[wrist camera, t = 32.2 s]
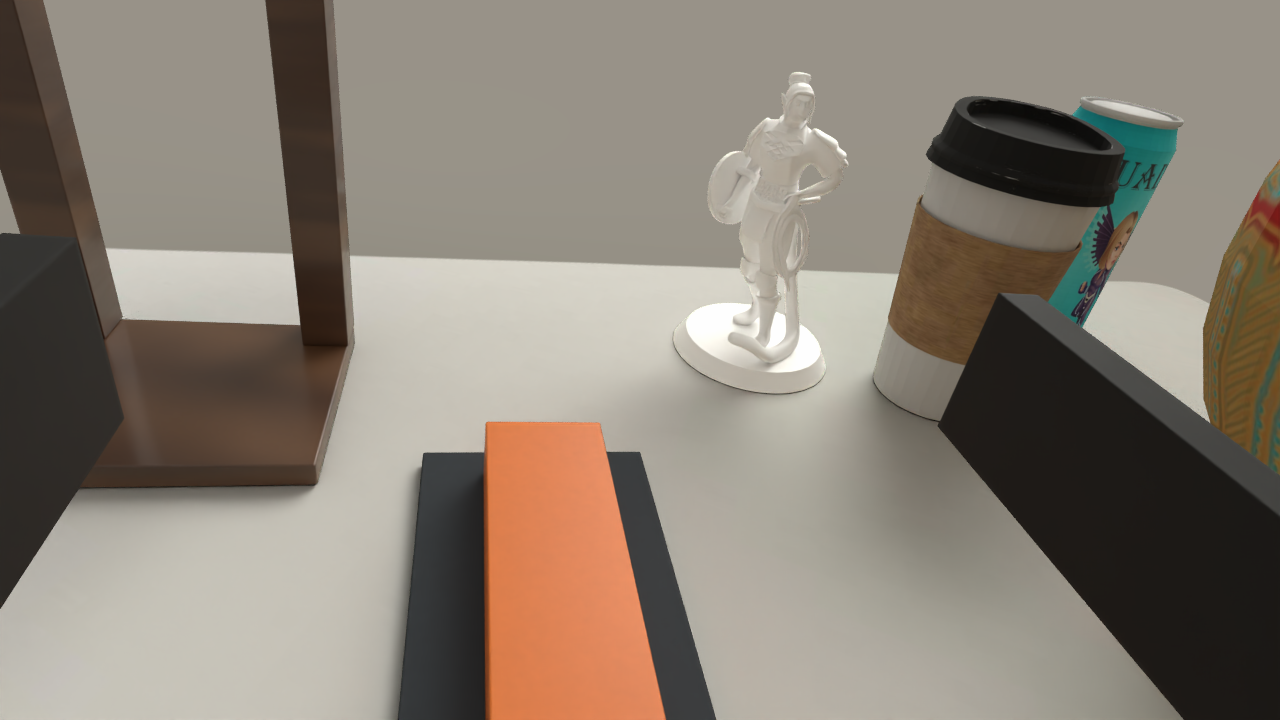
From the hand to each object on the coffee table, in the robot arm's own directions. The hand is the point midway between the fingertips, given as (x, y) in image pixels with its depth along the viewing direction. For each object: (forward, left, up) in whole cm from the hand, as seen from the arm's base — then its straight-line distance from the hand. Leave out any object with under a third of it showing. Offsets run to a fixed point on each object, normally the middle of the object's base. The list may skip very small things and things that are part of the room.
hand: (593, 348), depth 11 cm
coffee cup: (+30, +6, -15) cm, 34 cm away
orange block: (+3, +3, -14) cm, 15 cm away
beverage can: (+42, +6, -15) cm, 45 cm away
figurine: (+24, +14, -15) cm, 32 cm away
